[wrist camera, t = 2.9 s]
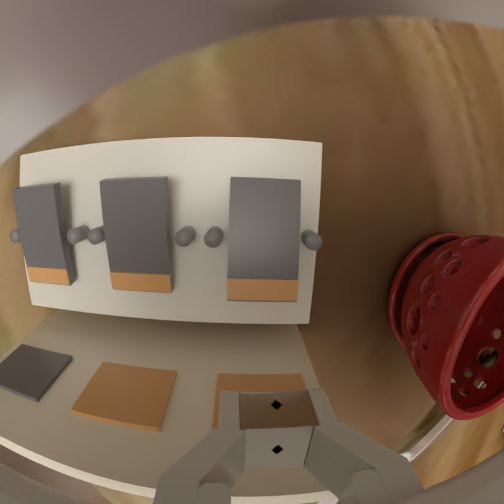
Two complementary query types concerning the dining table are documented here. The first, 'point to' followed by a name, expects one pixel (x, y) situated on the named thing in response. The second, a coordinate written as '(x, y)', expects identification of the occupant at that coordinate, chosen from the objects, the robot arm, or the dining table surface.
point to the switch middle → (138, 233)
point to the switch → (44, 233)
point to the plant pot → (453, 319)
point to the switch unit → (158, 322)
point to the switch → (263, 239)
